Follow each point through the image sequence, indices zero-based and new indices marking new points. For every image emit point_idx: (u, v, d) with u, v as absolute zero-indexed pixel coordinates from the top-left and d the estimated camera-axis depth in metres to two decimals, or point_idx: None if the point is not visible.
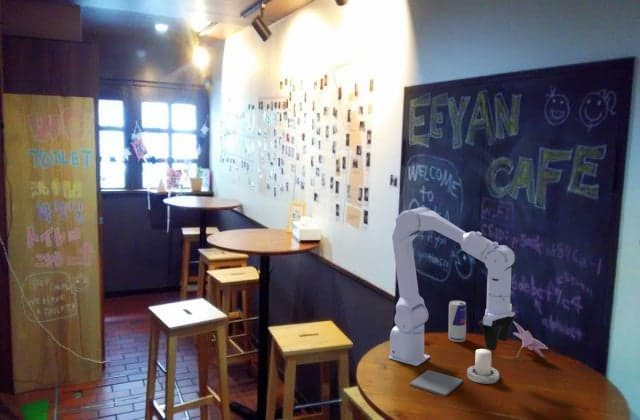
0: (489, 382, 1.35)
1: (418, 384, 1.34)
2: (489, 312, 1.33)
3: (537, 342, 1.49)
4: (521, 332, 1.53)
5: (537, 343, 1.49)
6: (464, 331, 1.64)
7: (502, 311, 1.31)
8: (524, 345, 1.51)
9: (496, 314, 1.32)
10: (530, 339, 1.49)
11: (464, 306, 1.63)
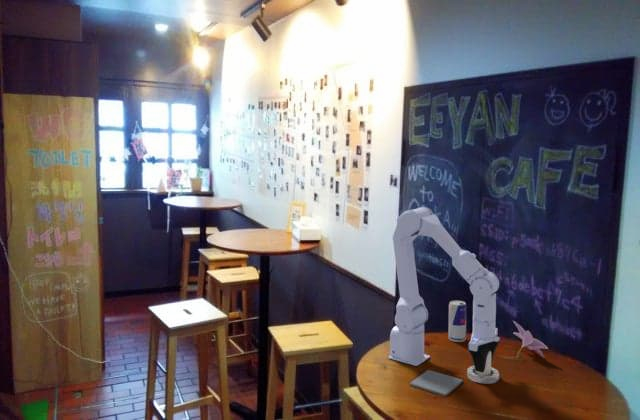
0: (489, 382, 1.35)
1: (418, 384, 1.34)
2: (475, 337, 1.37)
3: (537, 342, 1.49)
4: (521, 332, 1.53)
5: (537, 343, 1.49)
6: (464, 331, 1.64)
7: (487, 336, 1.35)
8: (524, 345, 1.51)
9: (481, 339, 1.35)
10: (531, 338, 1.49)
11: (464, 306, 1.63)
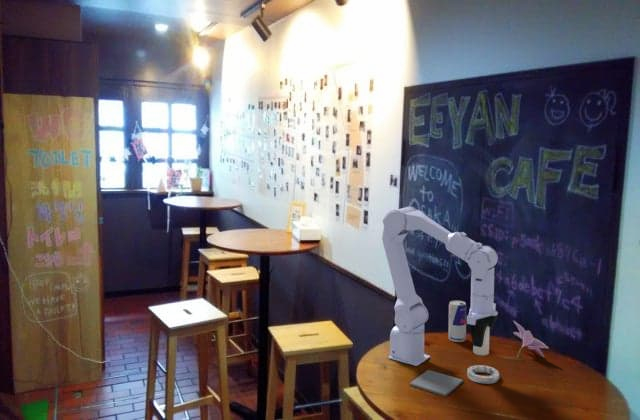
0: (489, 382, 1.35)
1: (418, 384, 1.34)
2: (473, 311, 1.36)
3: (537, 342, 1.49)
4: (521, 332, 1.53)
5: (538, 343, 1.49)
6: (464, 331, 1.64)
7: (485, 310, 1.34)
8: (524, 345, 1.52)
9: (480, 313, 1.34)
10: (531, 338, 1.50)
11: (464, 306, 1.63)
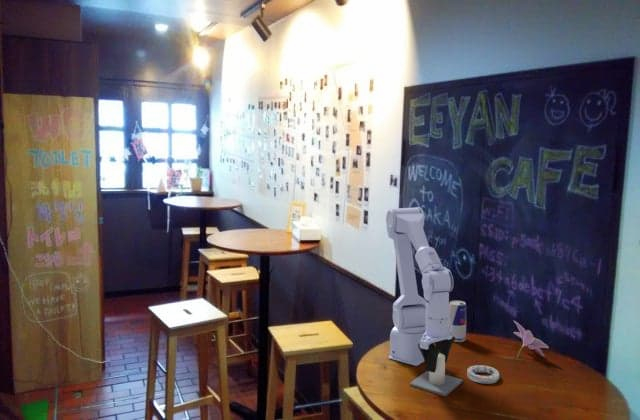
0: (489, 382, 1.35)
1: (418, 384, 1.34)
2: (427, 335, 1.33)
3: (538, 342, 1.49)
4: (522, 332, 1.53)
5: (538, 343, 1.50)
6: (464, 331, 1.64)
7: (439, 334, 1.31)
8: (525, 344, 1.52)
9: (434, 337, 1.32)
10: (531, 338, 1.50)
11: (464, 306, 1.63)
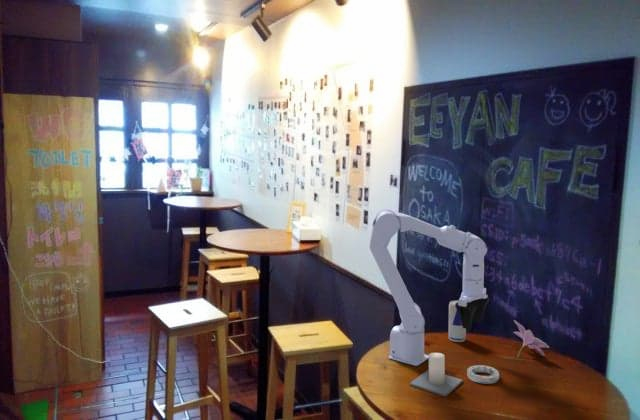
0: (489, 382, 1.35)
1: (418, 384, 1.34)
2: (464, 295, 1.47)
3: (538, 341, 1.50)
4: (522, 331, 1.54)
5: (538, 342, 1.50)
6: (464, 331, 1.64)
7: (475, 293, 1.45)
8: (525, 344, 1.52)
9: (471, 296, 1.46)
10: (532, 337, 1.50)
11: None
